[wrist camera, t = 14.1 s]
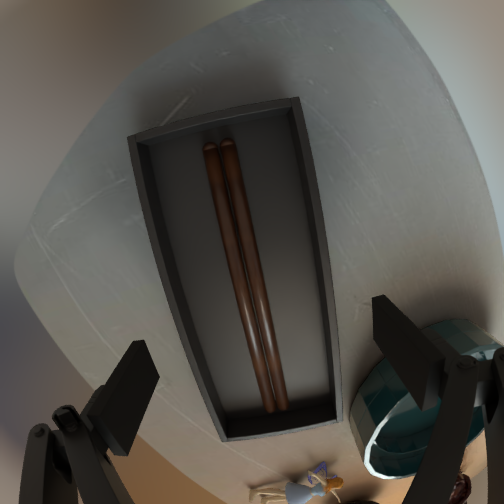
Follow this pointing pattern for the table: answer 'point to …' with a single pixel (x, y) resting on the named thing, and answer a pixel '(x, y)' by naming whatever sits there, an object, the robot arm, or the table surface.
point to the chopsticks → (252, 269)
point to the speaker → (364, 502)
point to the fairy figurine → (301, 489)
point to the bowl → (409, 408)
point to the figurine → (460, 489)
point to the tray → (271, 256)
